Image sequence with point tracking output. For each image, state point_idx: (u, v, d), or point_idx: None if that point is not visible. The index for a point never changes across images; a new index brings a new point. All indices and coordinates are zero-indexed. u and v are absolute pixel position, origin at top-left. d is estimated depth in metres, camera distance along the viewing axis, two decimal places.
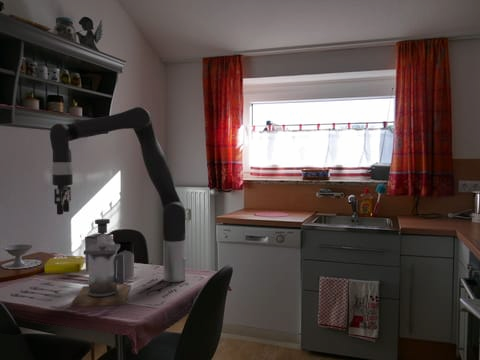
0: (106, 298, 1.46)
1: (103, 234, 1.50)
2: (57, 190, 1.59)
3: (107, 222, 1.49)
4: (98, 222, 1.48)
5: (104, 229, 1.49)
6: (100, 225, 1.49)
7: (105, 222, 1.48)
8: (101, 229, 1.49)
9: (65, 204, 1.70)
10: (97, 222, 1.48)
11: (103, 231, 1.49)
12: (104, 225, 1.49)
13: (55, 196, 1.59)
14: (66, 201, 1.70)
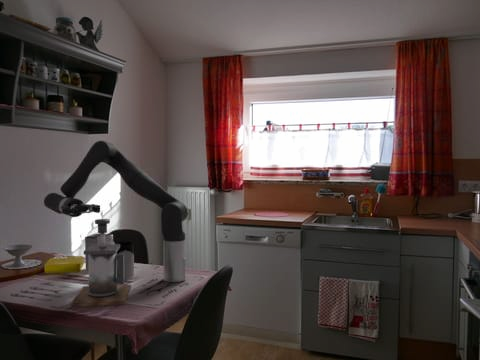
0: (106, 298, 1.46)
1: (103, 234, 1.50)
2: (60, 210, 1.60)
3: (107, 222, 1.49)
4: (98, 222, 1.48)
5: (104, 229, 1.49)
6: (100, 225, 1.49)
7: (105, 222, 1.48)
8: (101, 229, 1.49)
9: (94, 209, 1.62)
10: (97, 222, 1.48)
11: (103, 231, 1.49)
12: (104, 225, 1.49)
13: (62, 212, 1.58)
14: (93, 208, 1.63)
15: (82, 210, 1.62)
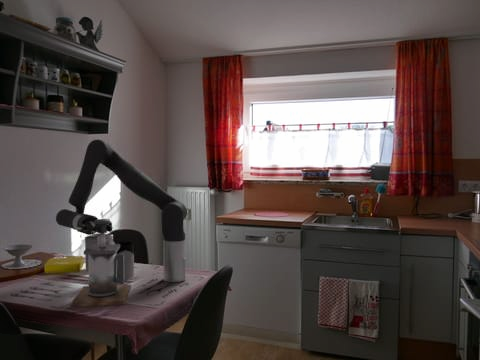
0: (106, 298, 1.46)
1: (103, 234, 1.50)
2: (78, 228, 1.50)
3: (107, 222, 1.49)
4: (98, 222, 1.48)
5: (104, 229, 1.49)
6: (100, 225, 1.49)
7: (105, 222, 1.48)
8: None
9: None
10: (97, 222, 1.48)
11: (103, 231, 1.49)
12: (104, 225, 1.49)
13: (82, 231, 1.49)
14: None
15: None
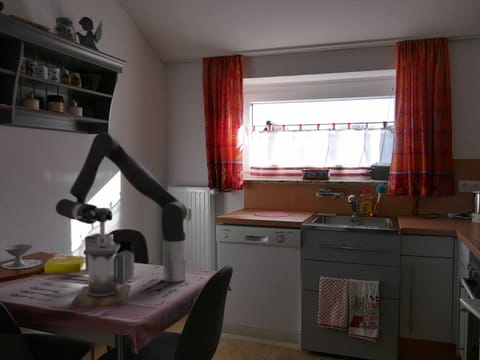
0: (106, 298, 1.46)
1: (103, 223, 1.50)
2: (77, 217, 1.50)
3: (107, 211, 1.49)
4: (98, 210, 1.47)
5: (104, 217, 1.49)
6: (100, 214, 1.49)
7: (105, 211, 1.48)
8: None
9: None
10: (97, 211, 1.48)
11: (103, 220, 1.49)
12: (104, 214, 1.49)
13: (82, 219, 1.49)
14: None
15: None
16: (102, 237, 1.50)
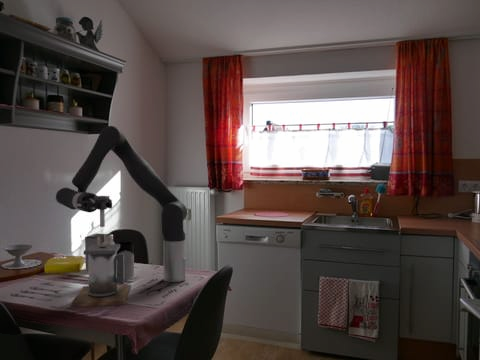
0: (106, 298, 1.46)
1: (103, 210, 1.49)
2: (77, 205, 1.50)
3: (107, 198, 1.49)
4: (98, 198, 1.47)
5: (104, 205, 1.49)
6: (100, 201, 1.48)
7: (105, 198, 1.48)
8: None
9: None
10: (97, 198, 1.47)
11: (102, 208, 1.49)
12: (104, 201, 1.49)
13: (82, 207, 1.49)
14: None
15: None
16: (102, 225, 1.50)
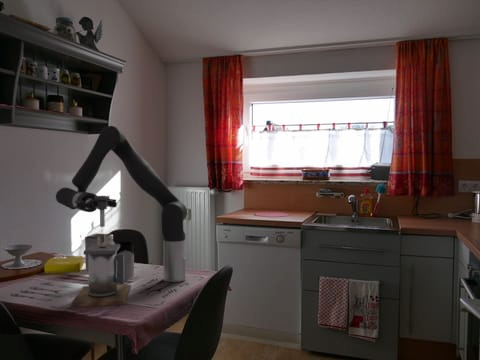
0: (106, 298, 1.46)
1: (103, 210, 1.49)
2: (75, 204, 1.51)
3: (107, 198, 1.49)
4: (98, 198, 1.47)
5: (104, 205, 1.49)
6: (100, 201, 1.48)
7: (105, 198, 1.48)
8: (101, 205, 1.48)
9: (110, 204, 1.53)
10: (97, 198, 1.47)
11: (102, 208, 1.49)
12: (104, 201, 1.49)
13: (77, 207, 1.49)
14: (109, 203, 1.54)
15: (97, 205, 1.53)
16: (102, 225, 1.50)
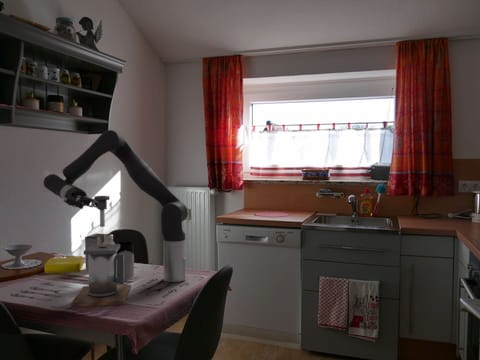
0: (106, 298, 1.46)
1: (103, 210, 1.49)
2: (64, 198, 1.59)
3: (107, 198, 1.49)
4: (98, 198, 1.47)
5: (104, 205, 1.49)
6: (100, 201, 1.48)
7: (105, 198, 1.48)
8: (101, 205, 1.48)
9: (97, 206, 1.63)
10: (97, 198, 1.47)
11: (102, 208, 1.49)
12: (104, 201, 1.49)
13: (66, 202, 1.57)
14: (96, 204, 1.64)
15: (85, 203, 1.62)
16: (102, 225, 1.50)
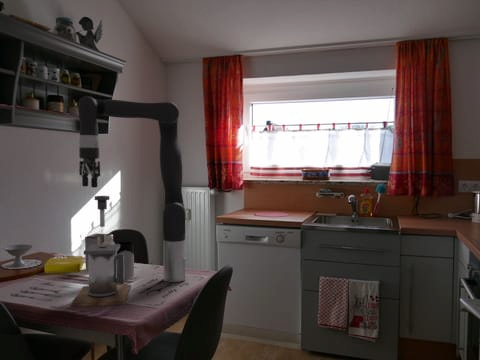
0: (106, 298, 1.46)
1: (103, 210, 1.49)
2: (96, 162, 1.60)
3: (107, 198, 1.49)
4: (98, 198, 1.47)
5: (104, 205, 1.49)
6: (100, 201, 1.48)
7: (105, 198, 1.48)
8: (101, 205, 1.48)
9: (85, 178, 1.68)
10: (97, 198, 1.47)
11: (102, 208, 1.49)
12: (104, 201, 1.49)
13: (95, 168, 1.59)
14: (85, 175, 1.68)
15: (88, 171, 1.65)
16: (102, 225, 1.50)
